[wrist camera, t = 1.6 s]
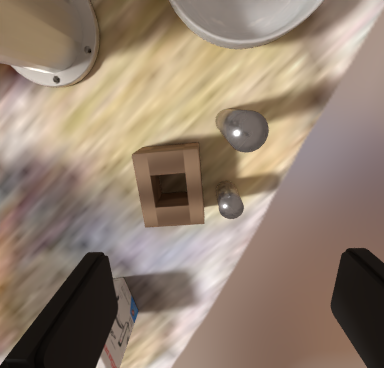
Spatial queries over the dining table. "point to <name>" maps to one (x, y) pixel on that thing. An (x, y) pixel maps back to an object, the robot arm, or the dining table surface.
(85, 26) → the robot arm
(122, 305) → the ink box
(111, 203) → the dining table surface
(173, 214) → the walnut hole block
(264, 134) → the long steel pin
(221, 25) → the cereal bowl
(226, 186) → the short steel pin
